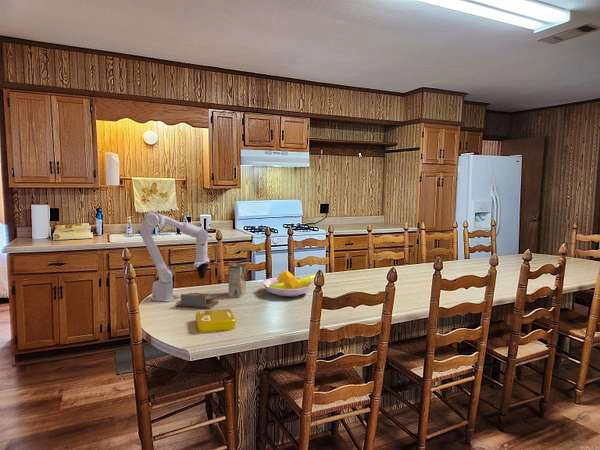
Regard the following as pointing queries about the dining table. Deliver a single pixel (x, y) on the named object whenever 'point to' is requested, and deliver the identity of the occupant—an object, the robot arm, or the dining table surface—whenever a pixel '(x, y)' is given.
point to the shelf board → (208, 306)
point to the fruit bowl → (288, 284)
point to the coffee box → (237, 280)
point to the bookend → (193, 300)
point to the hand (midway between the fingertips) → (201, 278)
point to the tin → (208, 297)
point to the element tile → (215, 320)
